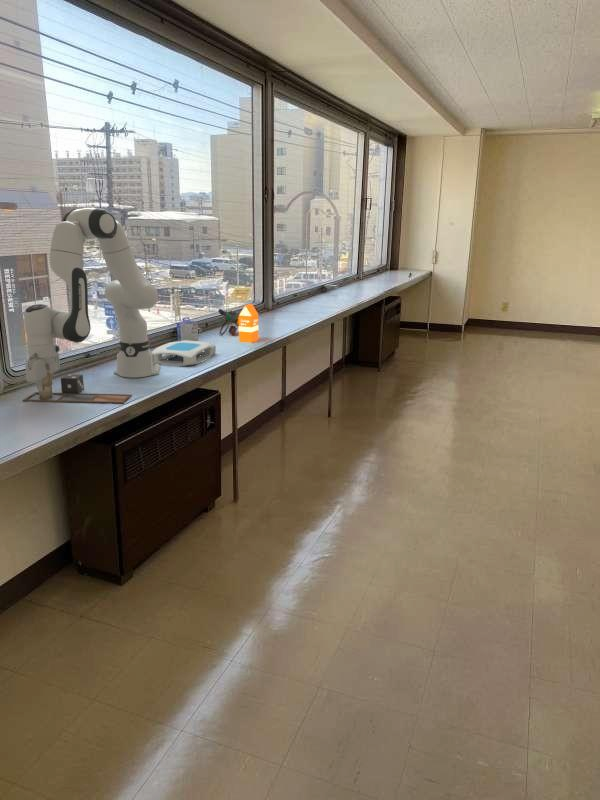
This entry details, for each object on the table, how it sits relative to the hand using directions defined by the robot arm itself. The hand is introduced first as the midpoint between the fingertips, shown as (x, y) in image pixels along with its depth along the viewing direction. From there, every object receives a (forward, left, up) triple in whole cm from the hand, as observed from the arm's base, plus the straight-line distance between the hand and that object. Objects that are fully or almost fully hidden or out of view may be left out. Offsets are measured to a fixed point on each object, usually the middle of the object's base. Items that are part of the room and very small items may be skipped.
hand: (45, 388), depth 216 cm
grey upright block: (-97, +32, -4) cm, 102 cm away
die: (-9, +6, -4) cm, 12 cm away
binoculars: (-129, +50, -4) cm, 139 cm away
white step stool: (-67, +36, -4) cm, 76 cm away
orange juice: (-112, +62, -4) cm, 128 cm away
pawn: (0, 0, -4) cm, 4 cm away
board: (0, +12, -4) cm, 12 cm away
